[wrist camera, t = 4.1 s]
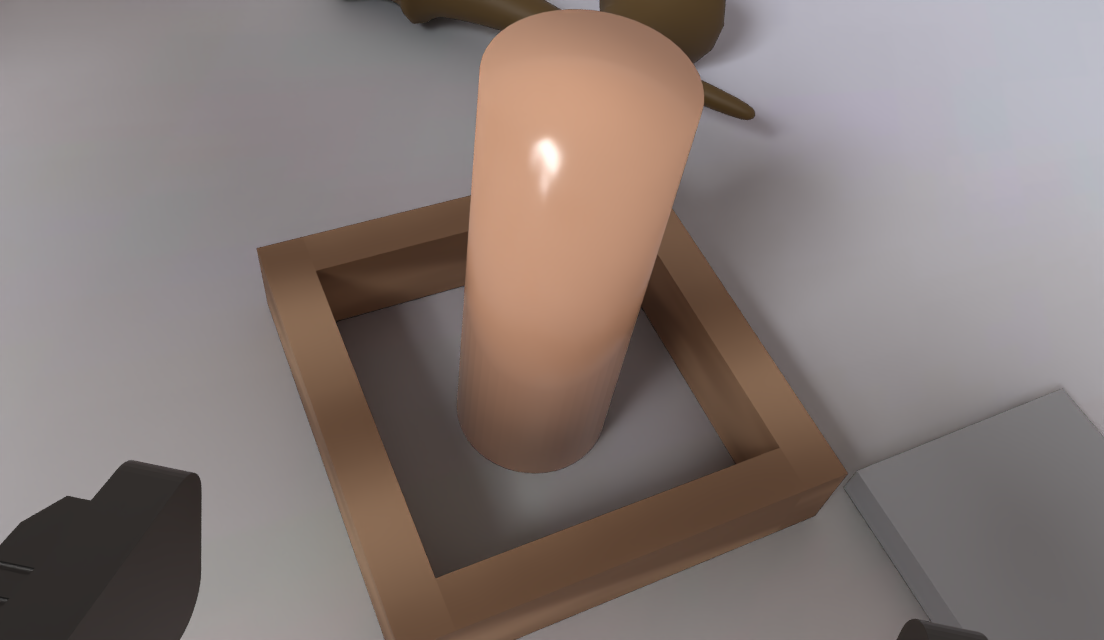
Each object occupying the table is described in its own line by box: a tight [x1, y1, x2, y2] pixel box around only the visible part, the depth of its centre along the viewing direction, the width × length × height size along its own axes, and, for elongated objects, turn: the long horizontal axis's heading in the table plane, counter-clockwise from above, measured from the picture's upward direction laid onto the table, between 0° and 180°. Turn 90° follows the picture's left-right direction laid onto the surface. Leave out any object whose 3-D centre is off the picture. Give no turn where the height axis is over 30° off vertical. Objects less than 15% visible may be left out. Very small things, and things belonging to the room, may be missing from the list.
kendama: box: [391, 0, 755, 120], centre depth 41 cm, size 6×10×20 cm
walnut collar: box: [257, 195, 848, 640], centre depth 32 cm, size 14×14×3 cm
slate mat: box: [844, 388, 1104, 640], centre depth 31 cm, size 11×9×1 cm
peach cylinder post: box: [457, 9, 704, 473], centre depth 28 cm, size 7×5×14 cm
